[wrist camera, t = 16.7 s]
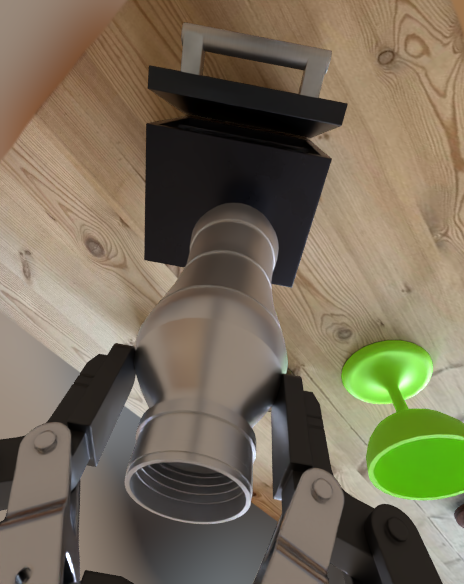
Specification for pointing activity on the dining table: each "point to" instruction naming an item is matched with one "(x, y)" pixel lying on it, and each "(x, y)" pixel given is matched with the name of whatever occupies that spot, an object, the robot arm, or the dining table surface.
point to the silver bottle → (209, 372)
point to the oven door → (243, 97)
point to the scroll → (460, 515)
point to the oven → (228, 185)
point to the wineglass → (406, 424)
